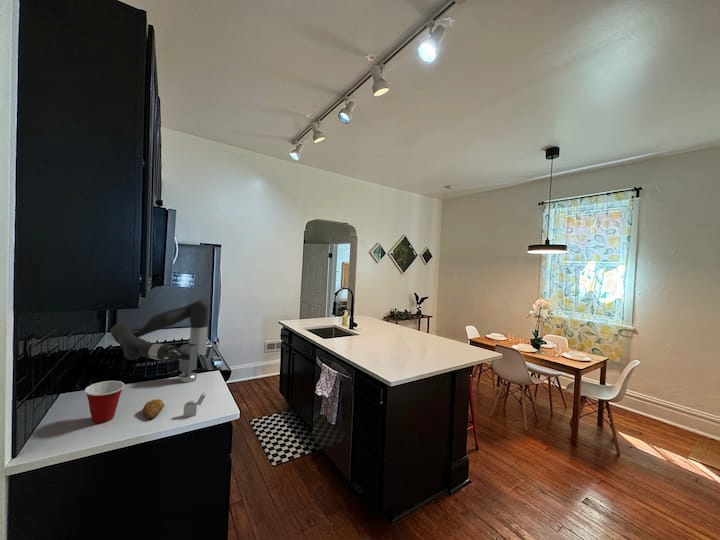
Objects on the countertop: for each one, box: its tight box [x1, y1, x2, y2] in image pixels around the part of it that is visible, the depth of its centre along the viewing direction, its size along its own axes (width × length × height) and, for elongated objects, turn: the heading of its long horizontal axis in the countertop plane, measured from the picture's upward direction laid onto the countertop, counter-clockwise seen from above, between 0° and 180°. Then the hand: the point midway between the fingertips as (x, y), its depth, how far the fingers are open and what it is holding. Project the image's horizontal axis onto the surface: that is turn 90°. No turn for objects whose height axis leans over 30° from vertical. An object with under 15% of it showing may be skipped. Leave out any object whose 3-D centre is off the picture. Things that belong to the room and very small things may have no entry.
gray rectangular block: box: [178, 342, 198, 372], centre depth 141 cm, size 5×5×12 cm
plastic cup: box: [84, 380, 126, 425], centre depth 104 cm, size 11×11×12 cm
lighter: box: [182, 392, 207, 418], centre depth 111 cm, size 7×2×8 cm, turn 114°
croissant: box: [142, 398, 165, 421], centre depth 111 cm, size 14×7×5 cm, turn 26°
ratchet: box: [178, 371, 198, 384], centre depth 146 cm, size 19×8×5 cm, turn 37°
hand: (193, 355), depth 140 cm, fingers closed on gray rectangular block, 5 cm apart
